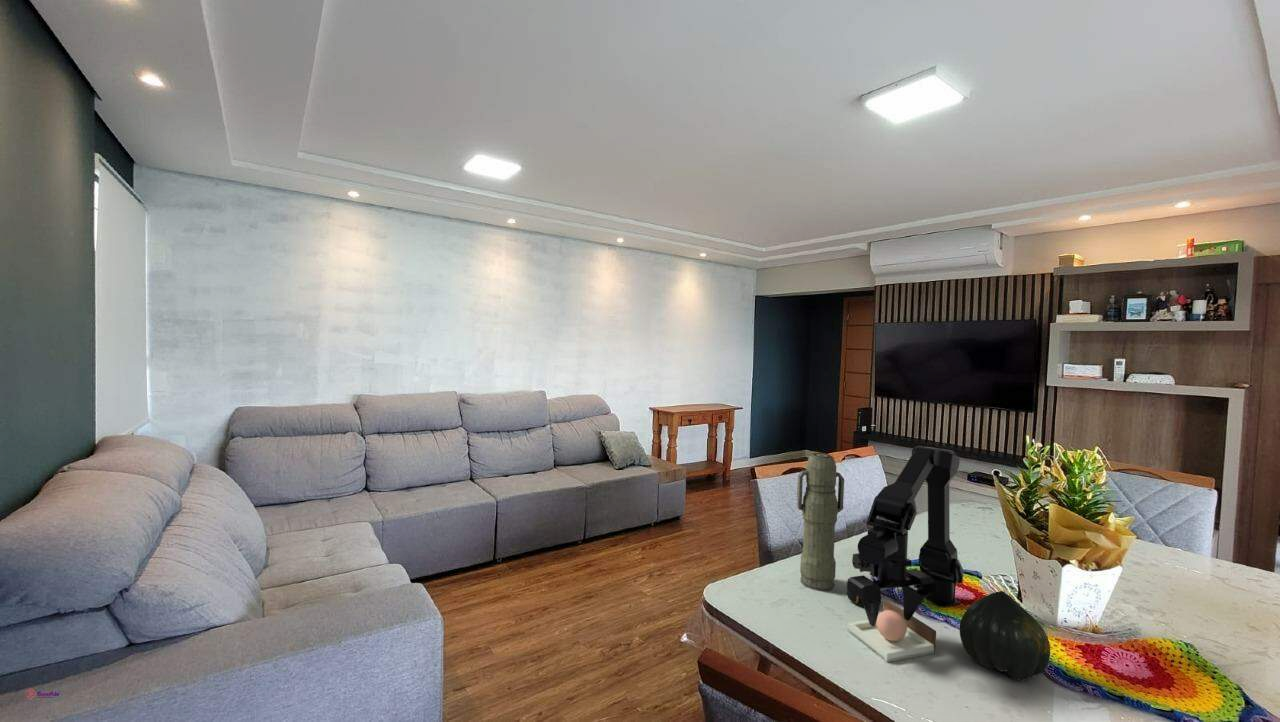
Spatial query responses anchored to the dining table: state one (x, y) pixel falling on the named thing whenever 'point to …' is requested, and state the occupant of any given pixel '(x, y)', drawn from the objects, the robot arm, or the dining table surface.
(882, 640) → the dish
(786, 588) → the dining table surface
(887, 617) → the ball
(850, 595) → the tape measure
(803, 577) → the thermos
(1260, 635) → the dining table surface
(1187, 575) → the dining table surface
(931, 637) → the divider rail
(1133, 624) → the dining table surface
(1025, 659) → the squash
